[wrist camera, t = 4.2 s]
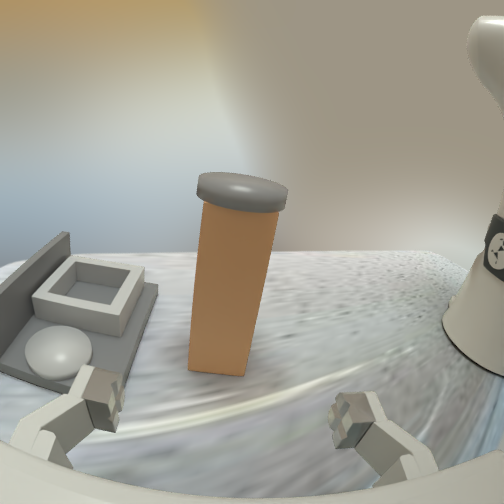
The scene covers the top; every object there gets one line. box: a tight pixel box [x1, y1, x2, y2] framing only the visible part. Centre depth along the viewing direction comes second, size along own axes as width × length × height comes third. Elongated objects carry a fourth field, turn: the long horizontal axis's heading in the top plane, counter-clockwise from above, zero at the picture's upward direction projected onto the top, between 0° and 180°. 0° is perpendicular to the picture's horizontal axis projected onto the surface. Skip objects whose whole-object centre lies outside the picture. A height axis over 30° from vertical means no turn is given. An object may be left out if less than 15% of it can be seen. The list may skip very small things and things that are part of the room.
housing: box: [0, 231, 158, 394], centre depth 21 cm, size 10×14×5 cm
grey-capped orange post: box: [188, 172, 288, 376], centre depth 21 cm, size 5×5×13 cm
